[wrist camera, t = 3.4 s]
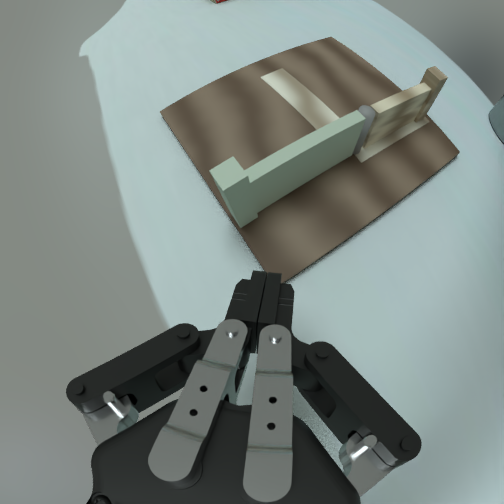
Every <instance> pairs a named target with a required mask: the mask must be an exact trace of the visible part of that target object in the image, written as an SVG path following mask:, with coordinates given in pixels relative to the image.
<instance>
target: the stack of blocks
mask: <svg viewBox="0 0 504 504" xmlns="http://www.w3.org/2000/svg"><path fill="white" fill-rule="evenodd" d="M211 1H213V2H214V3H219V2H223V1H226V0H211Z"/></svg>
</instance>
